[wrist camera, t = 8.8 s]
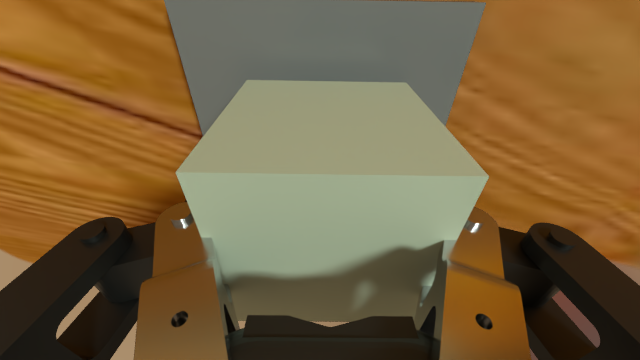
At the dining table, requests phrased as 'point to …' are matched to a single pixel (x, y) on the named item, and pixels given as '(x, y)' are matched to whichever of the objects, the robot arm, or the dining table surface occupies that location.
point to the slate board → (322, 45)
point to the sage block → (329, 197)
